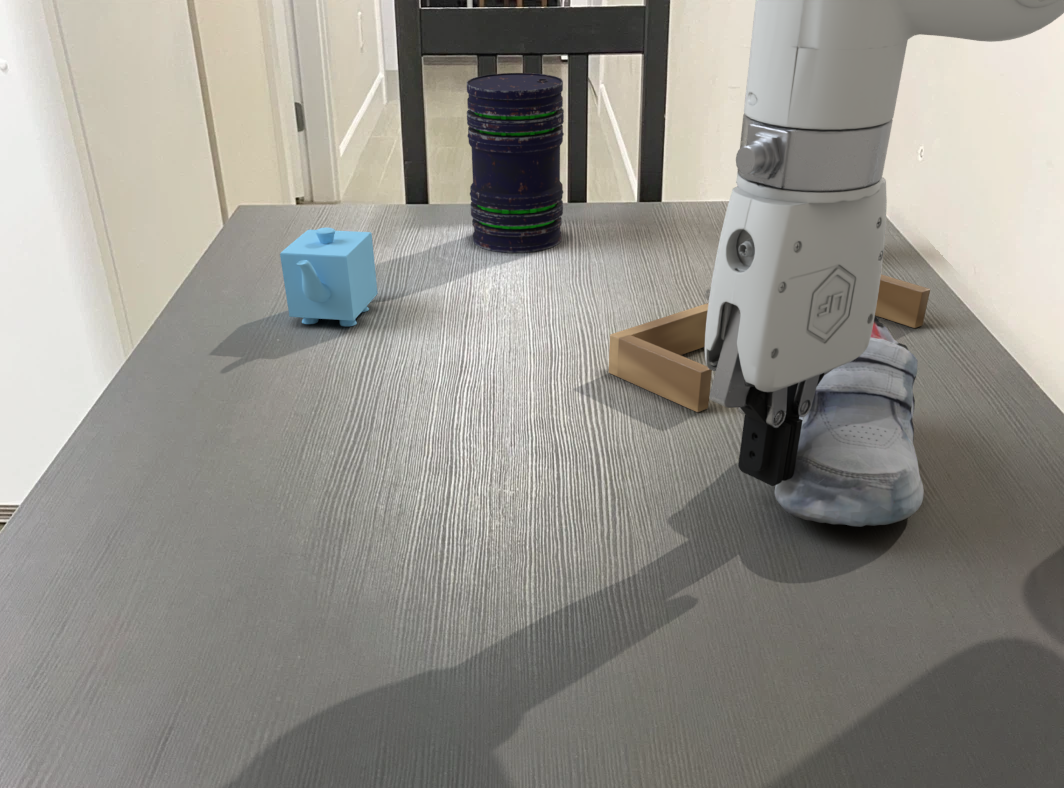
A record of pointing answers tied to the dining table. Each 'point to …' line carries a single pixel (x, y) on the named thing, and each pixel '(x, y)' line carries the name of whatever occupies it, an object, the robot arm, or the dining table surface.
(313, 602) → the dining table surface
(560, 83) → the navy oil drum
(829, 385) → the sneaker
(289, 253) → the teapot
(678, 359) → the wooden u-shaped bracket
